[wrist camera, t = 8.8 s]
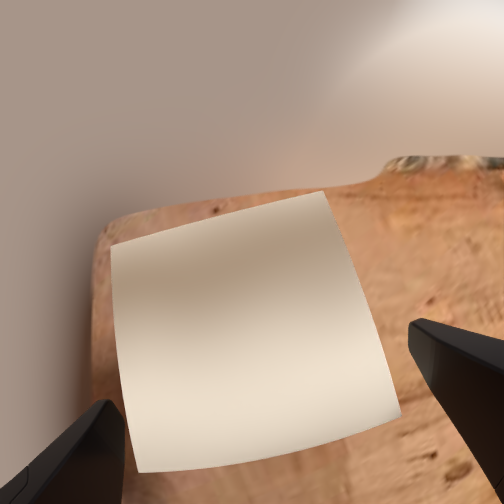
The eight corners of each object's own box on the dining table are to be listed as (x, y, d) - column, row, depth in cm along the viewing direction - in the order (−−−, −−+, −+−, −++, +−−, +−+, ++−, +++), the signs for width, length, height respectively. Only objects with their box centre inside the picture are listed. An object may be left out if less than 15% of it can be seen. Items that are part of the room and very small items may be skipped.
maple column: (336, 407, 15) (402, 416, 6) (222, 434, 15) (138, 472, 6) (305, 302, 17) (322, 190, 8) (199, 328, 17) (110, 245, 8)
